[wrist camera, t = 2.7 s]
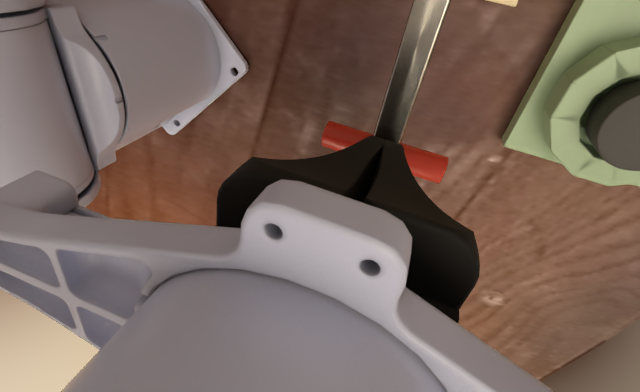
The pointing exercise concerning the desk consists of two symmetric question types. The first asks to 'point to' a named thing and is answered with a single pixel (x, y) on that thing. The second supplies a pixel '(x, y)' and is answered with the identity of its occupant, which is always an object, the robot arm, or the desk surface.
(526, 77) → the desk surface
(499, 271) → the desk surface
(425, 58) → the lever
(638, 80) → the button
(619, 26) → the button box
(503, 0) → the bracket
